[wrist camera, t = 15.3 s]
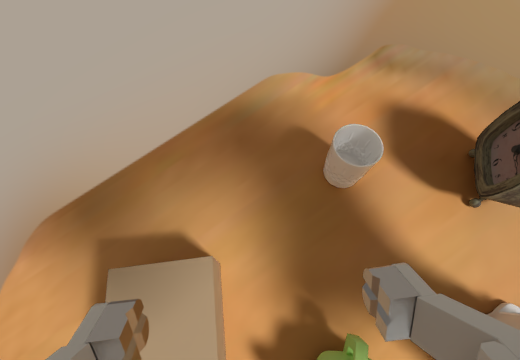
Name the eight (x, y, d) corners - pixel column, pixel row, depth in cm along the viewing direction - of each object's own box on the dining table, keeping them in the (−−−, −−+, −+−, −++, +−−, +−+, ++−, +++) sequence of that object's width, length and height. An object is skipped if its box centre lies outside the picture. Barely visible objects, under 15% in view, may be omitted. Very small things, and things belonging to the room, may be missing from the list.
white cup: (332, 197, 49) (348, 173, 40) (312, 162, 52) (324, 132, 43) (369, 182, 50) (393, 156, 41) (348, 149, 53) (366, 117, 44)
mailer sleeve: (228, 397, 37) (220, 421, 30) (125, 414, 36) (91, 442, 29) (219, 263, 44) (212, 256, 37) (133, 274, 44) (108, 269, 36)
